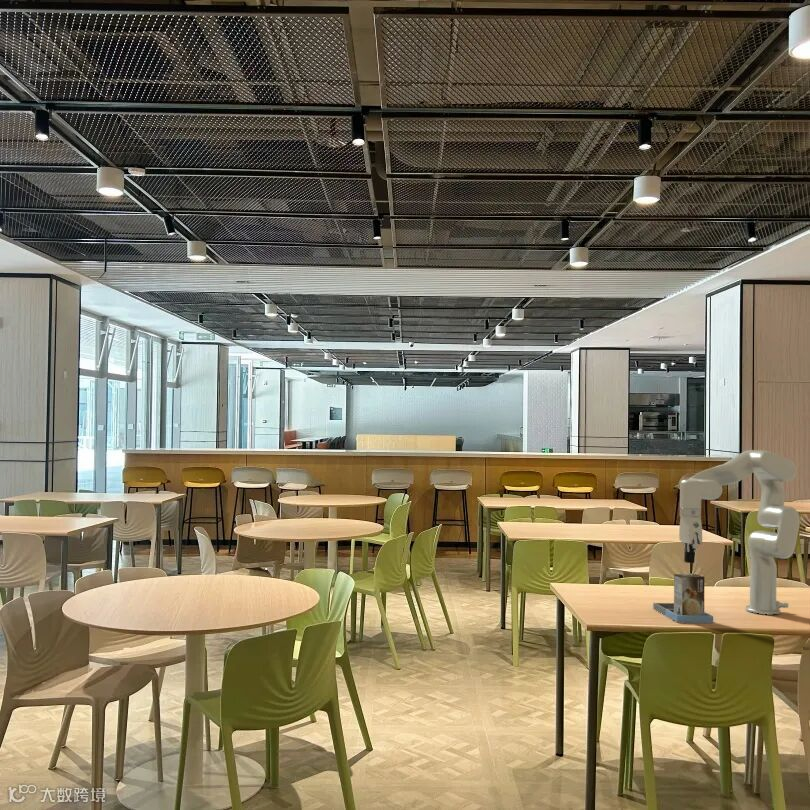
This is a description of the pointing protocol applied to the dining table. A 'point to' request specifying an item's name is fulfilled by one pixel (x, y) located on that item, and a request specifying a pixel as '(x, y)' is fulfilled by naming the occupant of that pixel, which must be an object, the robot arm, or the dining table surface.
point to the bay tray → (668, 611)
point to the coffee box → (689, 594)
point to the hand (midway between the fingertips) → (689, 562)
